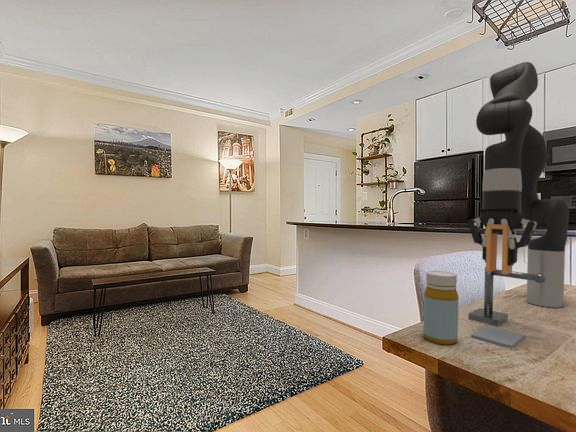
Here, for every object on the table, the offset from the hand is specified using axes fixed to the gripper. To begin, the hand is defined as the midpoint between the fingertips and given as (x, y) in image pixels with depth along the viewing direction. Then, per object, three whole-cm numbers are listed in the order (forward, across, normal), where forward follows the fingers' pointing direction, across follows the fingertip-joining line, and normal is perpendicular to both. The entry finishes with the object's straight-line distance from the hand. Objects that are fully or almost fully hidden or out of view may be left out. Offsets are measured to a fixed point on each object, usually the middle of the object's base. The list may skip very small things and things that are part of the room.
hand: (499, 263), depth 75 cm
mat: (+17, 0, 0) cm, 17 cm away
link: (+2, 0, 0) cm, 2 cm away
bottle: (+17, -8, -12) cm, 23 cm away
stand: (+17, -1, +12) cm, 21 cm away
